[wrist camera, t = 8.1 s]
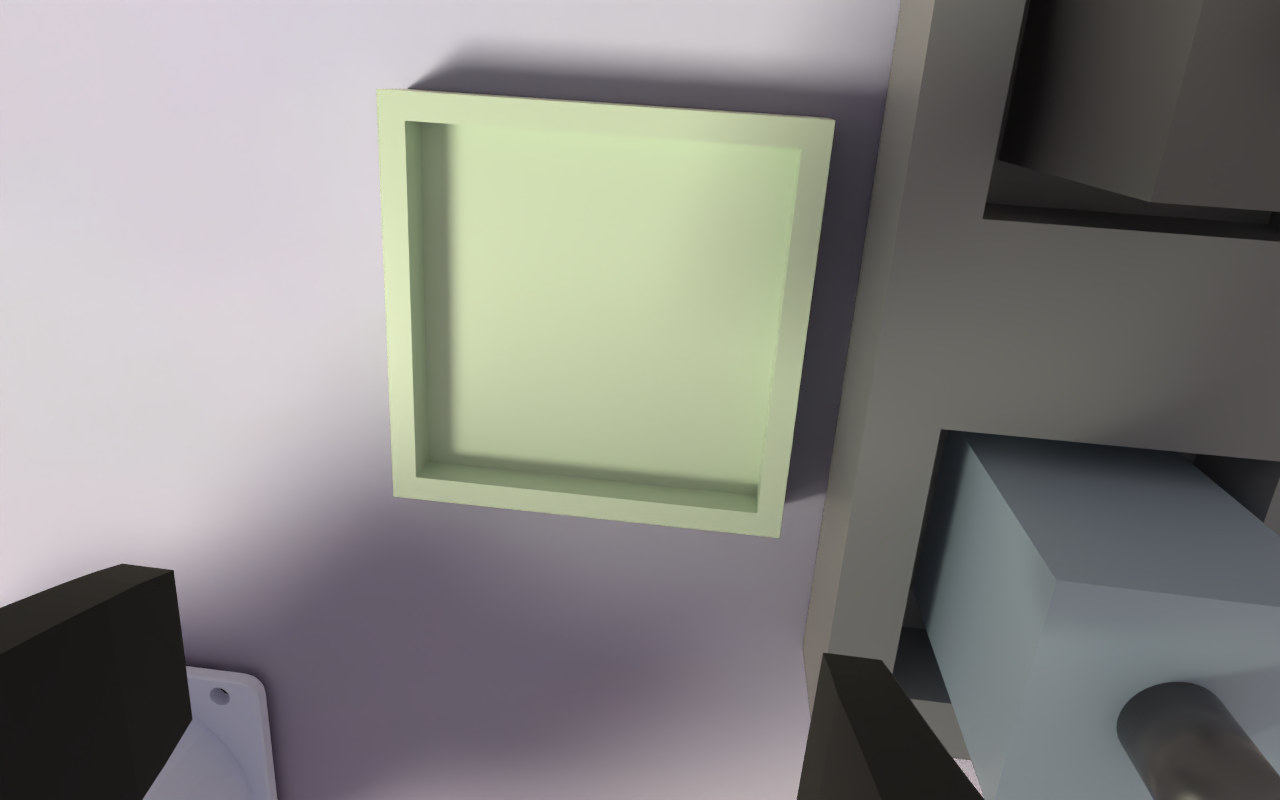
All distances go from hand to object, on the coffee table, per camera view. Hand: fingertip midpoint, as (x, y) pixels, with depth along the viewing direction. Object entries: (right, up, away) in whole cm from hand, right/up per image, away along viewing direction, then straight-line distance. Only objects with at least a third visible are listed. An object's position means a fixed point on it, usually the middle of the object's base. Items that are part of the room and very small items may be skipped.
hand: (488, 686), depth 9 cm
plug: (+10, +1, +8) cm, 13 cm away
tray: (+1, +5, +8) cm, 10 cm away
